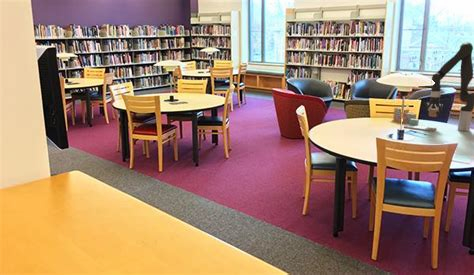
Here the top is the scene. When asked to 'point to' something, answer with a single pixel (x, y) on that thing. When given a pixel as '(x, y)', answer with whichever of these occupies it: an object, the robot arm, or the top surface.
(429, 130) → the blueprint board
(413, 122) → the teal block
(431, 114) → the walnut block
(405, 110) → the stack of blocks
